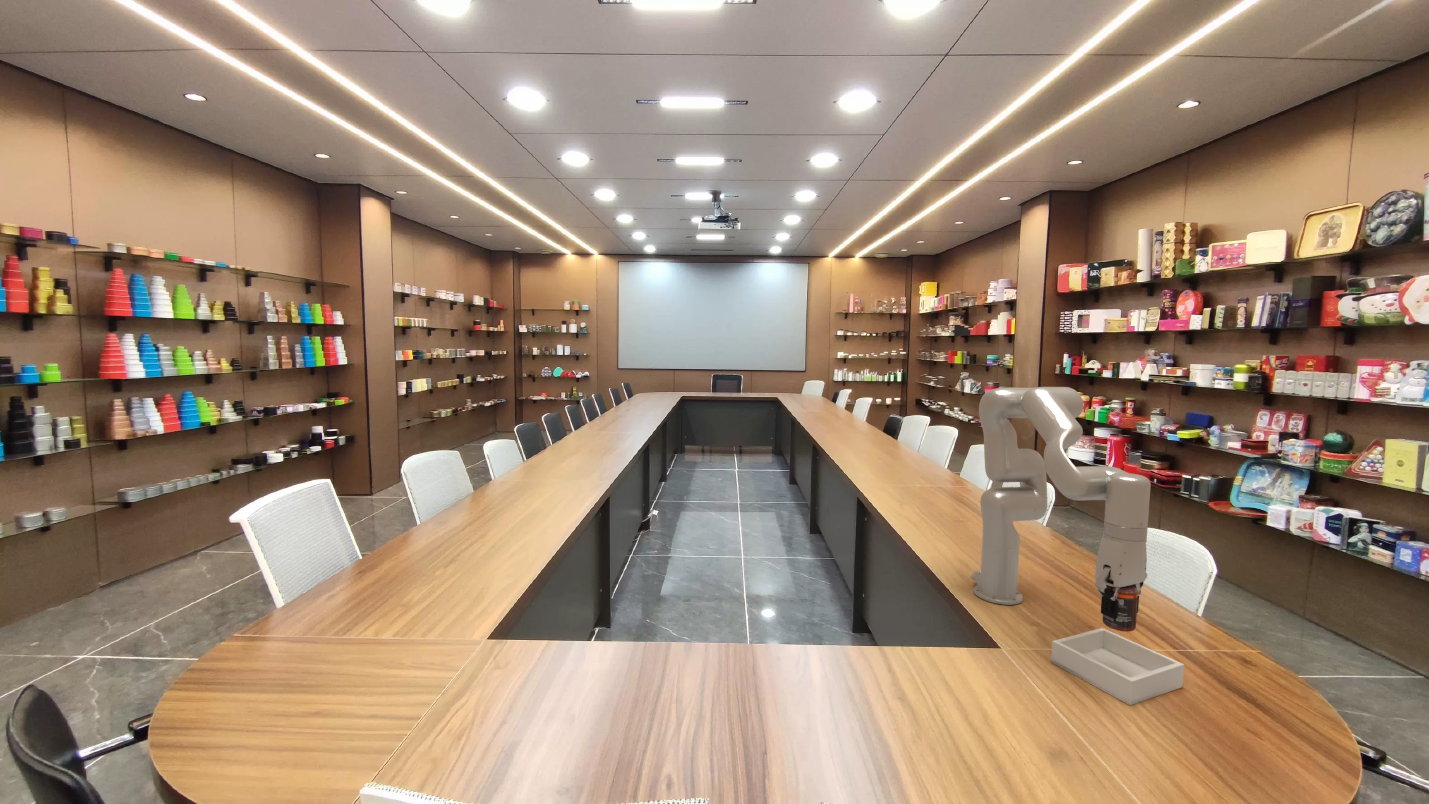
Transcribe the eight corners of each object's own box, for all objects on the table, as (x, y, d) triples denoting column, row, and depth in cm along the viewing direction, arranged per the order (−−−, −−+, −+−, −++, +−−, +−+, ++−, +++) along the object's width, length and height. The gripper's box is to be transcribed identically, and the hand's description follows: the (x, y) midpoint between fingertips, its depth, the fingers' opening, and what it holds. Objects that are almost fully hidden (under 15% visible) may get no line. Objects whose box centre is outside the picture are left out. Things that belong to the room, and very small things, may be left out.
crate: (1050, 662, 129) (1052, 640, 128) (1100, 648, 135) (1102, 627, 135) (1130, 705, 113) (1132, 681, 113) (1182, 687, 120) (1184, 664, 119)
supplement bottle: (1124, 620, 126) (1128, 570, 125) (1142, 633, 120) (1146, 581, 119) (1096, 619, 126) (1099, 569, 125) (1111, 632, 120) (1115, 580, 120)
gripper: (1132, 522, 128) (1126, 600, 130) (1080, 531, 122) (1075, 612, 123) (1169, 532, 121) (1163, 614, 123) (1116, 541, 115) (1110, 628, 116)
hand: (1119, 612), depth 123 cm, fingers closed on supplement bottle, 6 cm apart
